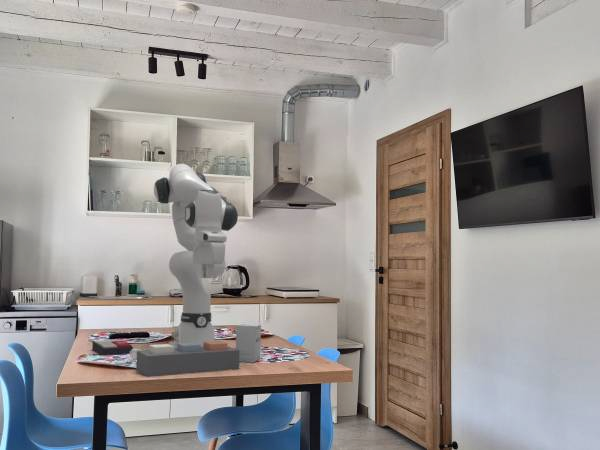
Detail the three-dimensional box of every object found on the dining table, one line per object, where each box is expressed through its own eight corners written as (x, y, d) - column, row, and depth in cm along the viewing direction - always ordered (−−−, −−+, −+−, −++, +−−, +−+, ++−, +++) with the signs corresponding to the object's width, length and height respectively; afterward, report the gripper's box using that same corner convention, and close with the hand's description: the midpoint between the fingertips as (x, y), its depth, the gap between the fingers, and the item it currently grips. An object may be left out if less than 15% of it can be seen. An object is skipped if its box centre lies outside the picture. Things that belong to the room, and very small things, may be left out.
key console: (136, 370, 178) (136, 350, 179) (224, 363, 194) (224, 345, 194) (147, 376, 168) (147, 356, 168) (238, 368, 183) (239, 350, 184)
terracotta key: (202, 355, 187) (203, 342, 187) (219, 354, 190) (220, 341, 190) (209, 357, 182) (210, 344, 182) (227, 356, 185) (227, 343, 185)
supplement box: (255, 362, 196) (256, 325, 197) (234, 361, 198) (235, 325, 199) (260, 359, 203) (261, 323, 204) (241, 358, 205) (242, 323, 206)
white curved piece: (153, 362, 196) (153, 350, 196) (132, 364, 191) (132, 352, 191) (141, 358, 202) (141, 347, 203) (120, 361, 197) (120, 349, 197)
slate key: (176, 356, 182) (177, 343, 182) (194, 355, 185) (194, 342, 185) (182, 359, 177) (183, 345, 177) (200, 358, 180) (201, 344, 180)
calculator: (103, 346, 205) (92, 339, 218) (102, 358, 205) (91, 350, 217) (133, 344, 212) (121, 338, 224) (132, 356, 211) (120, 348, 224)
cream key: (148, 358, 177) (149, 345, 178) (167, 357, 181) (167, 343, 181) (154, 361, 172) (154, 347, 173) (173, 360, 175) (174, 346, 176)
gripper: (188, 237, 198) (187, 277, 197) (210, 235, 181) (209, 278, 180) (205, 238, 202) (204, 277, 201) (228, 236, 184) (227, 278, 183)
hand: (207, 278), depth 190 cm, fingers closed
